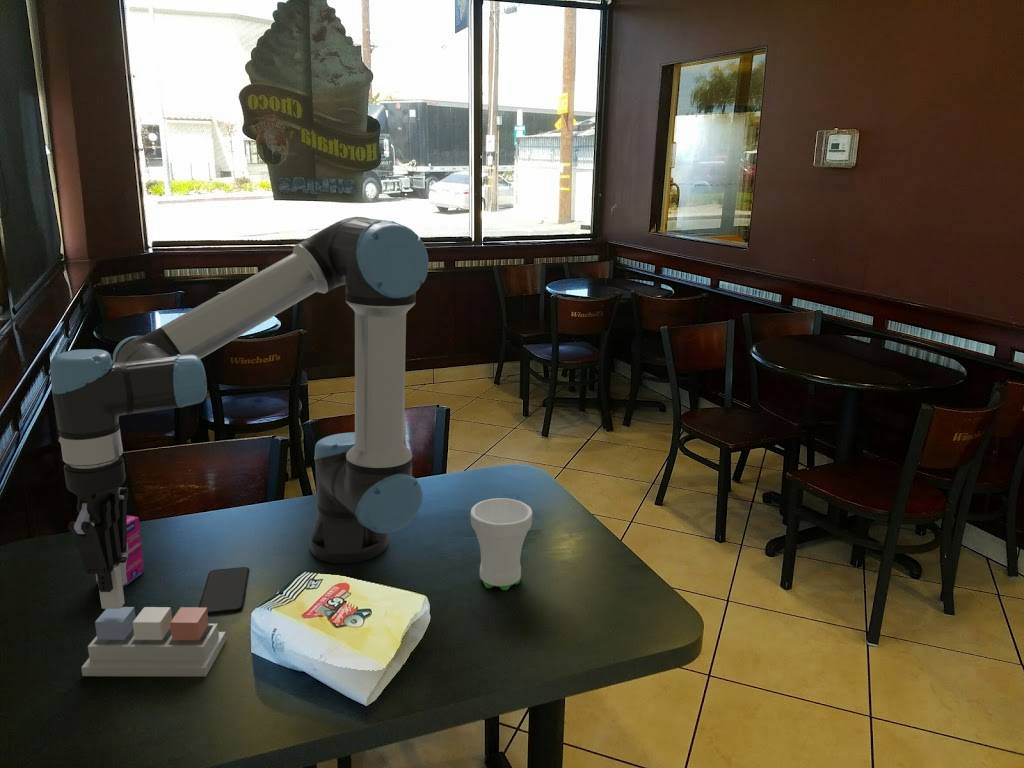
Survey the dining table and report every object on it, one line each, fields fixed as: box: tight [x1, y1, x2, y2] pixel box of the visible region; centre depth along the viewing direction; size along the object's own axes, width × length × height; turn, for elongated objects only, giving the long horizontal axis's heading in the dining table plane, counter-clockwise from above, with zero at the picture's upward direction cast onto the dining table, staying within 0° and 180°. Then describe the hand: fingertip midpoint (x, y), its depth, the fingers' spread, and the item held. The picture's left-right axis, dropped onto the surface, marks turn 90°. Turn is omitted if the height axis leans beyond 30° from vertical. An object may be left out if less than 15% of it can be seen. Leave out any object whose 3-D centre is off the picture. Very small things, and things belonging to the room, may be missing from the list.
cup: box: [470, 497, 533, 591], centre depth 139 cm, size 11×11×14 cm
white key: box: [133, 606, 173, 640], centre depth 115 cm, size 4×4×3 cm
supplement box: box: [95, 515, 145, 588], centre depth 137 cm, size 6×6×12 cm
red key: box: [170, 606, 210, 640], centre depth 115 cm, size 4×4×3 cm
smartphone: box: [198, 566, 250, 616], centre depth 135 cm, size 7×1×15 cm
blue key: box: [94, 606, 137, 640], centre depth 115 cm, size 4×4×3 cm
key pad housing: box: [80, 623, 227, 678], centre depth 116 cm, size 18×9×4 cm, turn 92°
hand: (113, 605), depth 114 cm, fingers closed
